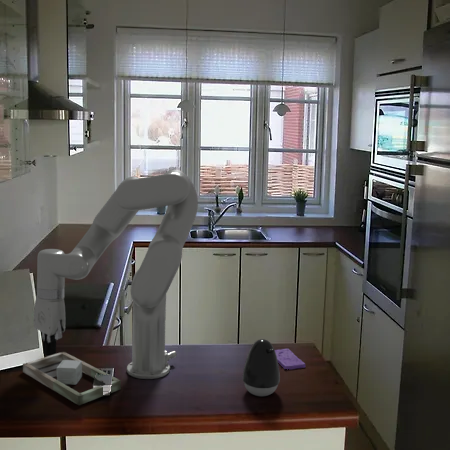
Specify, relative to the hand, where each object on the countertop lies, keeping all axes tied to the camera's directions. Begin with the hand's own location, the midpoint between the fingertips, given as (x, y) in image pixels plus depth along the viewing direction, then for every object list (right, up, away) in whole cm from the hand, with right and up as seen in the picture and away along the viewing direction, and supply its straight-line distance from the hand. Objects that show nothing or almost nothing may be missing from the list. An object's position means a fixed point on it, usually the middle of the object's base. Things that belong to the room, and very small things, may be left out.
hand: (49, 353), depth 167 cm
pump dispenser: (+61, -9, -8) cm, 62 cm away
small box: (+7, -7, -5) cm, 11 cm away
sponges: (+70, -6, +14) cm, 72 cm away
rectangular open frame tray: (+7, -6, -5) cm, 11 cm away
